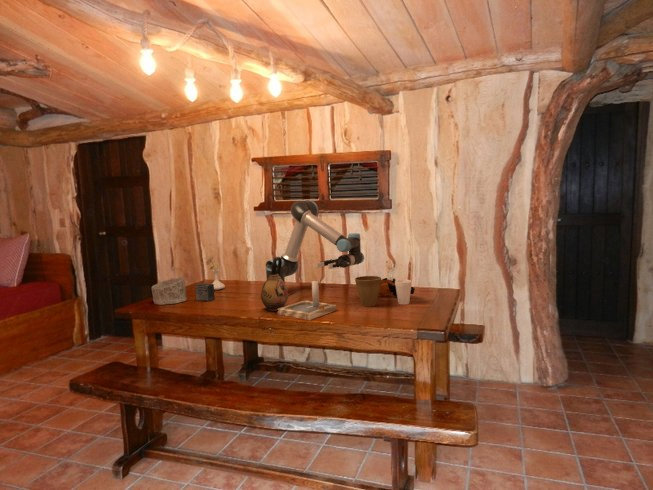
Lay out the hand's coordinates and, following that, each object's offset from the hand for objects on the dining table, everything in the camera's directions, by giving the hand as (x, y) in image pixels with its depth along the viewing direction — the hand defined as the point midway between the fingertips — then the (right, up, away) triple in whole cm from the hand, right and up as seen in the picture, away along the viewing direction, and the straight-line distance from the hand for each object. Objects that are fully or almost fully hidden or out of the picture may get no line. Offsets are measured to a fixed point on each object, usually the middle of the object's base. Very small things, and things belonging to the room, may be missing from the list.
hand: (322, 266), depth 252 cm
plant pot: (+27, -23, +5) cm, 35 cm away
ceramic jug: (-27, -25, +5) cm, 37 cm away
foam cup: (+47, -22, +7) cm, 52 cm away
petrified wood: (-97, -25, +32) cm, 105 cm away
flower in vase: (-77, -20, +66) cm, 103 cm away
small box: (-75, -24, +34) cm, 86 cm away
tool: (+44, -20, +21) cm, 53 cm away
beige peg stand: (-8, -25, -5) cm, 27 cm away
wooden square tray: (-8, -25, -5) cm, 27 cm away
